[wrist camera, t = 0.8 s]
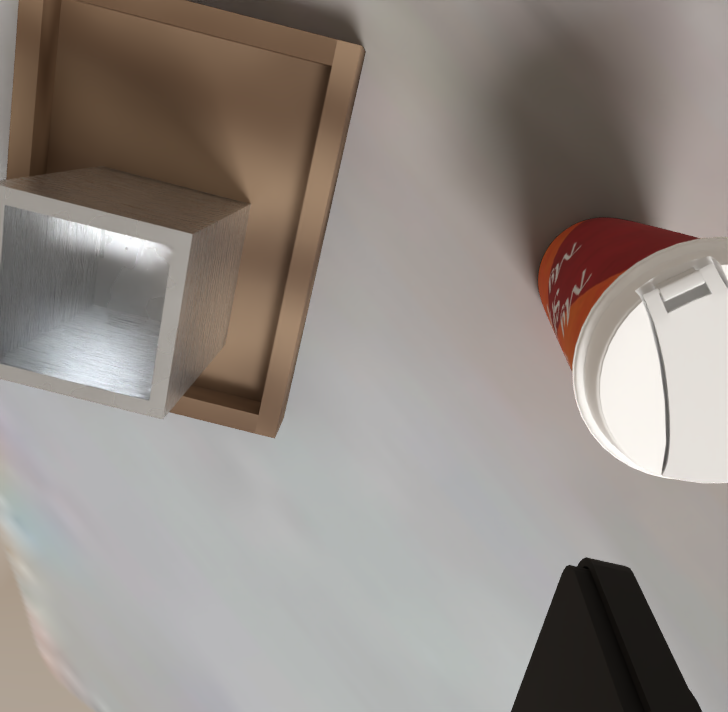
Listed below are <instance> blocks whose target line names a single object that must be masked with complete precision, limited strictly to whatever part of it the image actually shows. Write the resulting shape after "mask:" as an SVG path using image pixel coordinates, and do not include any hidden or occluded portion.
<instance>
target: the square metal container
mask: <svg viewBox="0 0 728 712" xmlns="http://www.w3.org/2000/svg"><path fill="white" fill-rule="evenodd" d="M250 207H251V204H249V203H245V202H241V201H237V200H233V199H230V198H226V197H222V196H218V195H214V194H210V193H206V192H202V191H198V190H194V189H190V188H186V187H182V186H178V185H175V184H171V183H167V182H163V181H159V180H155V179H151V178H147V177H143V176H139V175H135V174H131V173H127V172H123V171H120V170H116V169H112V168H108V167H104V166H98V167H91V168H84V169H77V170H70V171H64V172H57V173H50V174H43V175H36V176H29V177H22V178H15V179H8V180H2V181H0V379H3V380H7V381H11V382H15V383H19V384H23V385H27V386H31V387H35V388H39V389H43V390H47V391H51V392H55V393H59V394H63V395H67V396H71V397H75V398H79V399H83V400H87V401H91V402H95V403H99V404H103V405H107V406H111V407H115V408H119V409H123V410H127V411H131V412H135V413H139V414H143V415H147V416H151V417H155V418H159V419H164V417H165V416H166V415H167V414H168V413H169V411H170V410H171V409H172V408H173V407H174V405H175V404H176V403H177V402H178V401H179V399H180V398H181V397H182V396H183V395H184V393H185V392H186V391H187V390H188V389H189V388H190V386H191V385H192V384H193V383H194V382H195V380H196V379H197V378H198V377H199V376H200V374H201V373H202V372H203V371H204V370H205V368H206V367H207V366H208V365H209V364H210V362H211V361H212V360H213V359H214V358H215V356H216V355H217V354H218V353H219V352H220V350H221V349H222V348H223V347H224V346H225V342H226V337H227V331H228V326H229V320H230V315H231V310H232V304H233V299H234V293H235V288H236V283H237V277H238V272H239V267H240V261H241V256H242V250H243V245H244V240H245V234H246V229H247V224H248V218H249V213H250Z"/></svg>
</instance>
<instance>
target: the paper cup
mask: <svg viewBox="0 0 728 712" xmlns="http://www.w3.org/2000/svg"><path fill="white" fill-rule="evenodd" d="M538 288H539V293H540V297H541V301H542V304H543V306H544V309H545V312H546V314H547V316H548V319H549V321H550V323H551V326H552V328H553V330H554V333H555V335H556V337H557V339H558V342H559V344H560V346H561V348H562V350H563V353H564V355H565V357H566V359H567V361H568V364H569V366H570V368H571V370H572V384H573V389H574V395H575V400H576V403H577V406H578V409H579V411H580V414H581V417H582V419H583V420H584V422H585V424H586V426H587V427H588V429H589V431H590V432H591V434H592V435H593V436H594V437H595V439H596V440H597V441H598V442H599V443H600V444H601V446H602V447H603V448H605V449H606V450H607V451H608V452H609V453H611V454H612V455H613V456H614V457H615V458H617V459H618V460H620V461H622V462H624V463H625V464H627V465H629V466H630V467H632V468H635V469H637V470H640V471H642V472H645V473H647V474H651V475H655V476H659V477H664V478H669V479H678V480H683V481H690V482H698V483H728V237H713V238H697V237H693V236H689V235H685V234H681V233H677V232H673V231H670V230H666V229H662V228H658V227H654V226H650V225H646V224H641V223H637V222H633V221H628V220H623V219H617V218H604V217H603V218H593V219H588V220H585V221H582V222H579V223H577V224H574V225H573V226H571V227H569V228H567V229H566V230H565V231H563V232H562V233H561V234H560V235H558V236H557V237H556V238H555V239H554V241H553V242H552V243H551V244H550V246H549V247H548V249H547V250H546V252H545V254H544V256H543V258H542V261H541V264H540V268H539V274H538Z"/></svg>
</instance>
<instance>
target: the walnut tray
mask: <svg viewBox="0 0 728 712" xmlns="http://www.w3.org/2000/svg"><path fill="white" fill-rule="evenodd" d="M364 57H365V50H364V49H363V47H362V46H360V45H356V44H353V43H349V42H345V41H341V40H337V39H333V38H329V37H325V36H322V35H318V34H314V33H310V32H306V31H302V30H298V29H295V28H291V27H287V26H283V25H279V24H275V23H271V22H267V21H264V20H260V19H256V18H252V17H248V16H244V15H240V14H237V13H233V12H229V11H225V10H221V9H217V8H213V7H210V6H206V5H202V4H198V3H194V2H190V1H186V0H19V6H18V20H17V34H16V49H15V63H14V78H13V92H12V106H11V121H10V135H9V149H8V164H7V178H6V180H8V179H15V178H22V177H29V176H36V175H43V174H50V173H57V172H64V171H70V170H77V169H84V168H91V167H98V166H104V167H108V168H112V169H116V170H120V171H123V172H127V173H131V174H135V175H139V176H143V177H147V178H151V179H155V180H159V181H163V182H167V183H171V184H175V185H178V186H182V187H186V188H190V189H194V190H198V191H202V192H206V193H210V194H214V195H218V196H222V197H226V198H230V199H233V200H237V201H241V202H245V203H249V204H251V207H250V213H249V218H248V224H247V229H246V234H245V240H244V245H243V250H242V256H241V261H240V267H239V272H238V277H237V283H236V288H235V293H234V299H233V304H232V310H231V315H230V320H229V326H228V331H227V337H226V342H225V346H224V347H223V348H222V349H221V350H220V352H219V353H218V354H217V355H216V356H215V358H214V359H213V360H212V361H211V362H210V364H209V365H208V366H207V367H206V368H205V370H204V371H203V372H202V373H201V374H200V376H199V377H198V378H197V379H196V380H195V382H194V383H193V384H192V385H191V386H190V388H189V389H188V390H187V391H186V392H185V393H184V395H183V396H182V397H181V398H180V399H179V401H178V402H177V403H176V404H175V405H174V407H173V408H172V409H171V410H170V411H169V412H171V413H175V414H179V415H183V416H187V417H191V418H195V419H199V420H203V421H207V422H211V423H215V424H219V425H223V426H227V427H231V428H235V429H239V430H243V431H247V432H251V433H255V434H259V435H263V436H267V437H271V438H275V437H276V434H277V432H278V430H279V428H280V425H281V423H282V421H283V418H284V414H285V410H286V405H287V401H288V396H289V392H290V387H291V383H292V379H293V374H294V370H295V365H296V361H297V356H298V352H299V347H300V343H301V338H302V334H303V329H304V325H305V320H306V316H307V311H308V307H309V303H310V298H311V294H312V289H313V285H314V280H315V276H316V271H317V267H318V262H319V258H320V253H321V249H322V244H323V240H324V235H325V231H326V226H327V222H328V218H329V213H330V209H331V204H332V200H333V195H334V191H335V186H336V182H337V177H338V173H339V168H340V164H341V159H342V155H343V150H344V146H345V142H346V137H347V133H348V128H349V124H350V119H351V115H352V110H353V106H354V101H355V97H356V92H357V88H358V83H359V79H360V74H361V70H362V65H363V61H364Z"/></svg>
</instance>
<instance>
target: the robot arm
mask: <svg viewBox="0 0 728 712" xmlns="http://www.w3.org/2000/svg"><path fill="white" fill-rule="evenodd" d="M511 712H702V711H701V708H700V706H699V704H698V702H697V700H696V699H695V697H694V696H693V694H692V693H691V691H690V690H689V689H688V686H687V684H686V682H685V680H684V678H683V676H682V674H681V672H680V670H679V668H678V666H677V664H676V661H675V659H674V657H673V655H672V653H671V651H670V649H669V647H668V645H667V643H666V641H665V638H664V636H663V634H662V632H661V630H660V628H659V626H658V624H657V622H656V620H655V618H654V615H653V613H652V611H651V609H650V607H649V605H648V603H647V601H646V599H645V597H644V595H643V592H642V590H641V588H640V586H639V584H638V582H637V580H636V578H635V576H634V574H633V572H632V571H631V569H630V568H628V567H626V566H622V565H618V564H613V563H609V562H604V561H600V560H595V559H591V558H584V559H582V560H581V561H580V563H579V564H578V566H577V567H576V566H571V565H568V566H566V568H565V569H564V571H563V573H562V575H561V578H560V580H559V583H558V586H557V588H556V591H555V594H554V597H553V599H552V602H551V605H550V607H549V610H548V613H547V616H546V618H545V621H544V624H543V626H542V629H541V632H540V634H539V637H538V640H537V643H536V645H535V648H534V651H533V653H532V656H531V659H530V662H529V664H528V667H527V670H526V672H525V675H524V678H523V680H522V683H521V686H520V689H519V691H518V694H517V697H516V699H515V702H514V705H513V708H512V710H511Z"/></svg>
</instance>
